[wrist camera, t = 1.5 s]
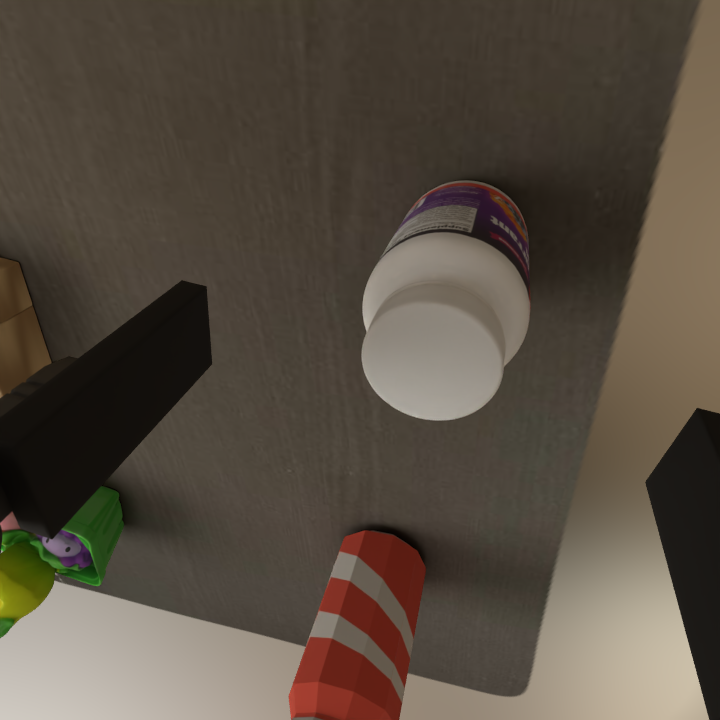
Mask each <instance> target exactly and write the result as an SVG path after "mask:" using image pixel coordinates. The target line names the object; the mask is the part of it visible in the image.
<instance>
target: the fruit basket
mask: <svg viewBox="0 0 720 720" xmlns="http://www.w3.org/2000/svg"><path fill="white" fill-rule="evenodd" d="M118 499H119V493H118V492H117V491H115V490H112V489H109V488H107V487H104V486H101V487H100V488H99V489H98V490H97V491H96V492H95V493H94V494H93V495H92V496H91V498H90V499H89V500H88V501H87V502H86V503H85V504H84V505H83V506H82V507H81V508H80V510H79V511H78V512H77V513H76V514H75V515H74V516H73V517H72V518H71V519H70V521H69V522H68V523H67V524H66V525H65V526H64V527H63V528H62V529H61V530H60V532H59V533H58V534H57V535H56V536H55V537H54V538H53V539H49V538H46V537H43V536H40V535H37V534H34V533H31V532H29V531H26V530H23V529H20V527H19V524H18V522H17V520H16V518H15V516H14V514H13V512H11V513H10V514H9V515H8V516H7V517H6V518H5V519H4V520H3V521H2V522H1V523H0V525H1V529H2V534H3V535H2V544H1V550H2V551H3V552H2V553H1V554H0V638H1V637H3V636H4V635H5V634H6V633H7V632H8V631H9V629H10V628H11V627H12V626H13V625H14V624H15V623H16V622H17V621H18V620H19V619H21V618H22V617H24V616H26V615H27V614H29V613H30V612H32V611H33V610H34V609H36V608H37V607H38V606H39V605H40V604H41V603H42V602H43V601H44V600H45V598H46V597H47V596H48V594H49V592H50V591H51V589H52V587H53V584H54V577H55V572H56V573H59V574H61V575H65V576H67V577H70V578H73V579H76V580H79V581H81V582H84V583H87V584H90V585H93V586H99V585H101V583H102V581H103V578H104V576H105V572H106V570H105V569H106V567H107V564H108V562H109V560H110V557H111V555H112V553H113V551H114V548H115V546H116V544H117V541H118V539H119V537H120V534H121V532H122V530H123V527H124V522H123V520H122V517H123V515H122V509H121V504H120V502H119V500H118Z"/></svg>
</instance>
